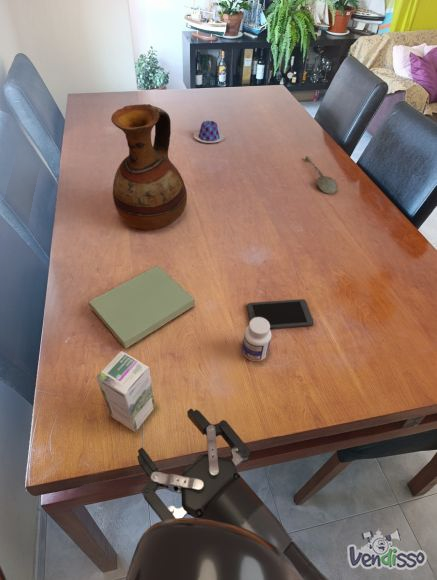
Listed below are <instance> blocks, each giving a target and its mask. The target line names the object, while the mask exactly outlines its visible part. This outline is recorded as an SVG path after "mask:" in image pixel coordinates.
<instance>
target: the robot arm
mask: <svg viewBox="0 0 437 580" xmlns="http://www.w3.org/2000/svg"><path fill="white" fill-rule="evenodd" d="M186 414H187V418H188V419H189V420H190V422H191V423H192V424H193V425H194V427H196V429H197V430H198V431H199V432H200V433H201V435H203V436H205V437H206V451H207V453H205V454H204V453H203V454H200V455H199V456H197V458H195V460H194V461H193V463H191V464H189V465H188V466H186V467H185V468H184V469H183V470H182V474H181V475H179V474H176V473H165V472H161V471H159V468H158V466H157V465H156V464H155V462H154V461H153V459H152V458H151V457H150V455H149V454H148V453H147V451H146V450H145V448H144V447H143V446H142V447H140V448H139V449H138V450H137V452H138V455H137V456H136V458H137V462H138V464H139V466H140V467H141V468H142V470H143V472H144V473H145V474H146V476H147V477H148V481H147V483H146V484H145V485H144V486H143V487H142V489H141V493H142V496H143V499H144V500H145V502H146V503H147V504H148V505H149V507H150V508H151V509H152V510H153V512H154V513H155V514H156V516H157V517H158V518H159V519H160V521H158V522H156V523H154V524H152V525H150V526H149V528H147V529H146V531H145V532H143V533H142V535H141V536H140V538H139V540H138V542H137V545H136V548H135V550H134V552H133V555H132V558H131V561H130V564H129V567H128V570H127V573H126V576H125V580H329V578H328V577H326V575H324V573H322V572H321V571H320V569H319V568H318V567H317V566H316V565H315V564H314V563H313V562H312V561H311V560H310V558H309V557H308V556H307V555H306V554H305V553H304V552H303V550H302V549H301V548H300V546H298V544H296V542H295V541H294V540H293V538H292V537H291V536H290V534H289V532H288V531H287V530H286V529H285V526H284V525H283V524H282V522H281V521H280V520H279V519H278V518H277V516H275V514H274V513H273V512H272V511H271V510H270V508H269V507H268V506H267V505H266V503H264V501H263V499H261V498H260V497H259V495H258V494H257V493H256V492H255V491H254V490H253V489H252V487H251V486H250V485H249V484H248V482H247V481H246V480H245V479H244V478H243V477H242V476H241V475H240V473H239V472H238V470H237V467H239V465H241V464H242V463H246V462H248V460H249V458H250V453H251V451H250V448H249V447H248V445H246V443H245V442H244V441H243V440H242V439H241V437H240V435H238V434H237V432H236V431H235V430H234V428H233V427H232V426H231V424H229V422H228V421H227V420H225V419H222V420H220V421H219V422H218V423H215V424H213V423H211V422H210V421H209V420H208V419H207V418H206V416H204V414H203V413H202V412H201V411H200V410H198V409H195V410H194V409H193V408H189V409H188V410H187V411H186ZM220 436H221V438H222V439H223V440H224V442H225V443H226V444H227V445H228V447H230V449H231V450H230V455H231V457H232V458H231V459H230V458H227V457H222V456H218V444H217V443H218V442H217V437H220ZM158 489H164V490H168V491H169V492H172V493H176V494H181V496H180V497H181V507H179V508H178V507H175V506H174V505H169V506H166V504H165V503H164V502H163V500H162V499H161V498H160V496H159V495H158V494H157V493H156V492H157V490H158ZM187 515H188V516H191V517H186V516H187ZM0 580H7V578H6V575H5V573H4V571H3V569H2V567H1V565H0Z"/></svg>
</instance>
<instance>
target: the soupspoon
mask: <svg viewBox="0 0 437 580" xmlns="http://www.w3.org/2000/svg"><path fill="white" fill-rule="evenodd" d="M305 161H308V162H309V163H310V164H311V165H312V166H313V168H314V169H315V170H316V172H317V173H318V175H319V176H318V177H317V179H316V184H317V187H318V188H319V190H321V192H323V193H325V194H328V195H333V194H335V193H336V192H337V191H338V189H339V188H338V187H339V185H338V183H337V181H336V180H335V179H334V178H332V177H331V176H326V175H323V172H322V171H321V170H320V169H319V167H318V166H317V165H316V164H315V162H314V161H313V160H312V159H311V156H310V155H306V156H305Z"/></svg>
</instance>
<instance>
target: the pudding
mask: <svg viewBox="0 0 437 580" xmlns="http://www.w3.org/2000/svg"><path fill="white" fill-rule="evenodd" d="M193 138H194V139H195V140H197V141H199V142H201V143H208V144H212V143H213V144H214V143H218V142H221V141H223V140H224V139H225V138H226V135H225V133H224V132H223V131H222V130H219V126H218V123H217V122H216V121H214V120H204V121H202V122H201V125H200V129H198V130H196V131H194V132H193Z"/></svg>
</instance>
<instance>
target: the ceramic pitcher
mask: <svg viewBox="0 0 437 580" xmlns="http://www.w3.org/2000/svg"><path fill="white" fill-rule="evenodd" d="M110 120H111V122H112V124H113V125H114V126H115V127H117V128H118V129H120V131H122V132H123V133H124V135H125V139H126V142H127V147H128V155H127V156H126V157H125V158H124V159H123V160H122V161H121V163H120V164H119V166H118V167H117V170H116V172H115V175H114V178H113V183H112V198H113V199H112V200H113V203H114V206H115V209H116V211H117V213H118V215H119V216H120V218H121V219H122V220H123V221H124V222H125V223H126V224H128V225H129V226H131V227H132V228H136V229H140V230H155V229H160V228H164V227H167V226H169V225H171V224H173V223H174V222H175V221H176V220H177V219H179V218H180V217H181V216H182V214H183V213H184V211H185V209H186V207H187V202H188V192H187V189H186V185H185V182H184V179H183V177H182V175H181V173H180V171H179V170H178V168H177V167H176V166H175V164H174V163H173V162H171V160H170V158H169V150H170V149H169V148H170V141H171V134H172V132H171V131H172V128H171V127H172V126H171V125H172V123H171V117H170V115H169V114H168V112H166V111H165V110H164V109H163V108H160V107H158V106H154V105H151V103H148V104H147V103H146V104H145V103H143V104H129V105H125V106H123V107H121V108H119V109H116V110H115V112H113V113H112V115H111V118H110ZM153 129H154V139H153V143H152V131H153Z"/></svg>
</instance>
